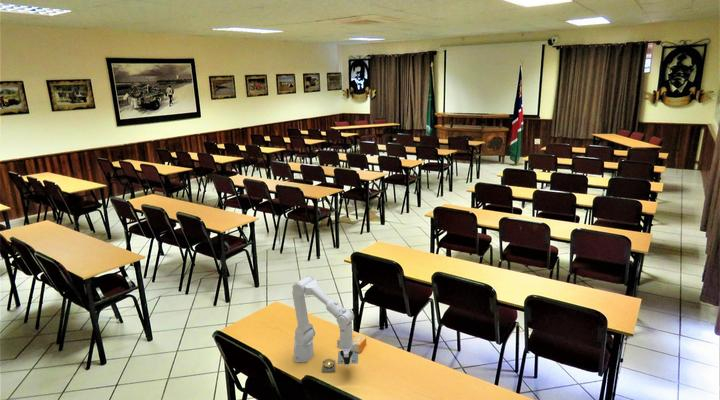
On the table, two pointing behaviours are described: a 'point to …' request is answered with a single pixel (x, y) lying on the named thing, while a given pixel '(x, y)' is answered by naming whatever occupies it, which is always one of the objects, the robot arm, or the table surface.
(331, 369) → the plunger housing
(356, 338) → the supplement box
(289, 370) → the table surface
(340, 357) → the filter base
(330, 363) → the plunger
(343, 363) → the cylinder
